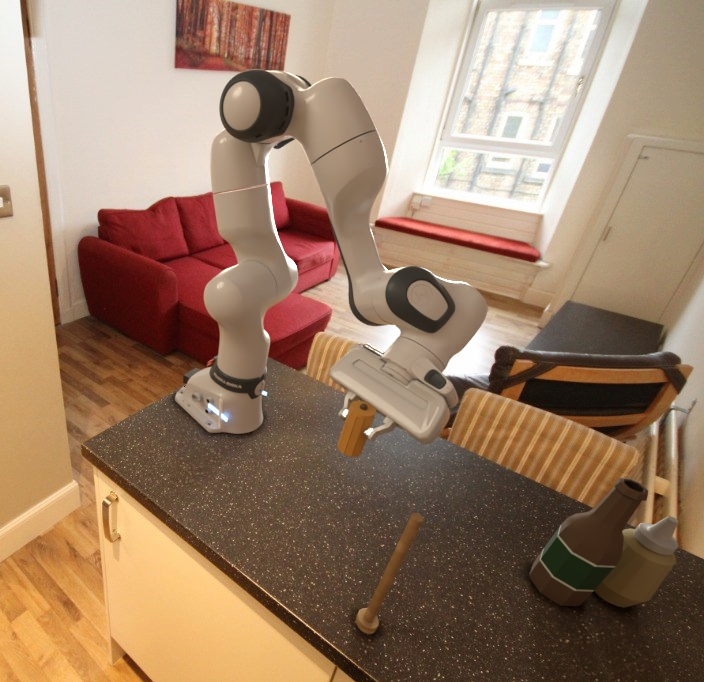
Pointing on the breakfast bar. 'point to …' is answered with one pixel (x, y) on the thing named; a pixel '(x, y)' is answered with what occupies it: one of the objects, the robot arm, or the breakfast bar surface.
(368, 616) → the brown wooden rod
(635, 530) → the squeeze bottle
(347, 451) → the cylinder
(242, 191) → the robot arm
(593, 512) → the beer bottle
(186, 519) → the breakfast bar surface
